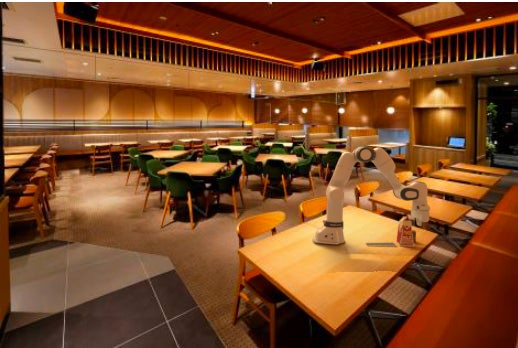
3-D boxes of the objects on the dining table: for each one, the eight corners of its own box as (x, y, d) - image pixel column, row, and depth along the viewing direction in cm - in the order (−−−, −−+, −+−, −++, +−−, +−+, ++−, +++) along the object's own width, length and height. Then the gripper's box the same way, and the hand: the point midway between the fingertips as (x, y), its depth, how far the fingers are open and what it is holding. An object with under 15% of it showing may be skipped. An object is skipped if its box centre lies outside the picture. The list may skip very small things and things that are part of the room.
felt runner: (367, 246, 192) (367, 245, 192) (364, 242, 201) (364, 241, 201) (397, 246, 189) (397, 246, 189) (392, 242, 198) (392, 242, 198)
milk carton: (414, 246, 189) (415, 217, 188) (399, 246, 191) (400, 216, 190) (410, 242, 198) (410, 214, 197) (395, 242, 200) (396, 214, 199)
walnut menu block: (410, 242, 198) (410, 231, 198) (408, 241, 202) (408, 230, 201) (415, 242, 198) (416, 231, 197) (413, 241, 201) (414, 230, 201)
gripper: (408, 202, 203) (408, 221, 203) (421, 208, 182) (420, 229, 183) (418, 202, 202) (417, 222, 203) (431, 208, 181) (431, 229, 182)
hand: (419, 225), depth 193 cm, fingers closed
